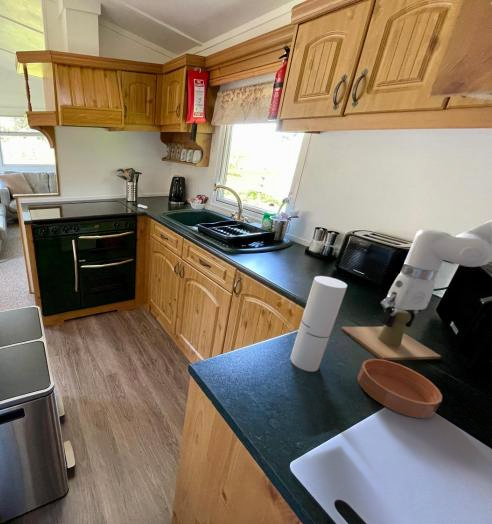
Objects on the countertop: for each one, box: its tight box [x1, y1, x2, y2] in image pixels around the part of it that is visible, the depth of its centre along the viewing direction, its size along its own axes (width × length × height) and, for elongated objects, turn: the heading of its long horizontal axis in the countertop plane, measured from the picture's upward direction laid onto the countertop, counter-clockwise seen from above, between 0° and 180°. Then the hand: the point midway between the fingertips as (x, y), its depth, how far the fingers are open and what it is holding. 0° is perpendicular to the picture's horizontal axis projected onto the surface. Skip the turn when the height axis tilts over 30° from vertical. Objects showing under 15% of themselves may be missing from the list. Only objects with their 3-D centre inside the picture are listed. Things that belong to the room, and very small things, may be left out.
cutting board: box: [340, 326, 442, 361], centre depth 93 cm, size 20×16×1 cm
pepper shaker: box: [377, 308, 411, 346], centre depth 91 cm, size 6×6×11 cm
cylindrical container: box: [289, 275, 348, 372], centre depth 77 cm, size 7×7×25 cm
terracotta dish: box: [357, 358, 443, 419], centre depth 71 cm, size 15×15×4 cm
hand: (395, 324), depth 91 cm, fingers open, 6 cm apart
